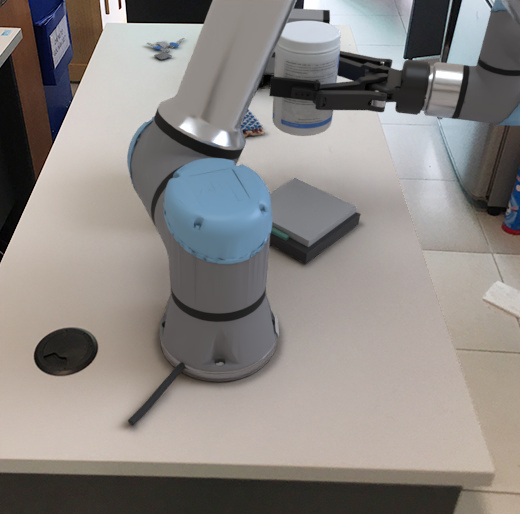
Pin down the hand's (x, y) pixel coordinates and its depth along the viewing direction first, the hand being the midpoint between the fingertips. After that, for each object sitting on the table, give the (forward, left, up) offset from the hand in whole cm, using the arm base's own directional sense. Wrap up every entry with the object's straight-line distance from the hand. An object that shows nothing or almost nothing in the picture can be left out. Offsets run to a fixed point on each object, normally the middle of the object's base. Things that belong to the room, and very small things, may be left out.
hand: (276, 72), depth 97 cm
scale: (-6, -11, -20) cm, 24 cm away
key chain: (+29, +59, -20) cm, 68 cm away
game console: (+40, +30, -20) cm, 54 cm away
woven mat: (+11, +19, -20) cm, 29 cm away
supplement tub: (+2, -4, -8) cm, 9 cm away
